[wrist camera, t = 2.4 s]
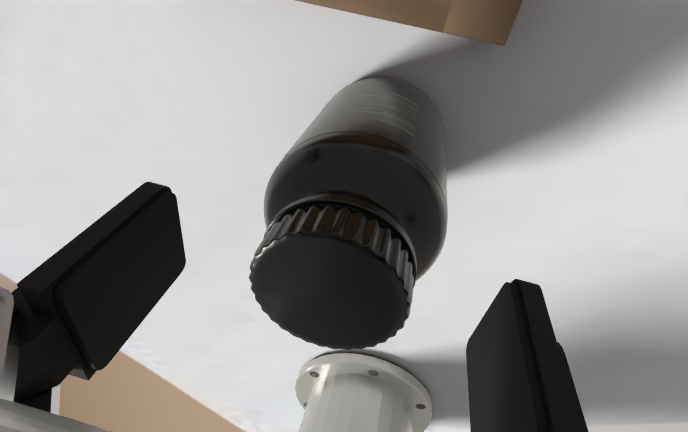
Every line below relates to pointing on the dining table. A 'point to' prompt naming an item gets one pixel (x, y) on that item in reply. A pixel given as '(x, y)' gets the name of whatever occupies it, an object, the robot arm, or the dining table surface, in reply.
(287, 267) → the supplement bottle
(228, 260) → the dining table surface
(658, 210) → the dining table surface
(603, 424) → the dining table surface
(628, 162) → the dining table surface
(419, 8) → the wooden tray
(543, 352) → the robot arm
